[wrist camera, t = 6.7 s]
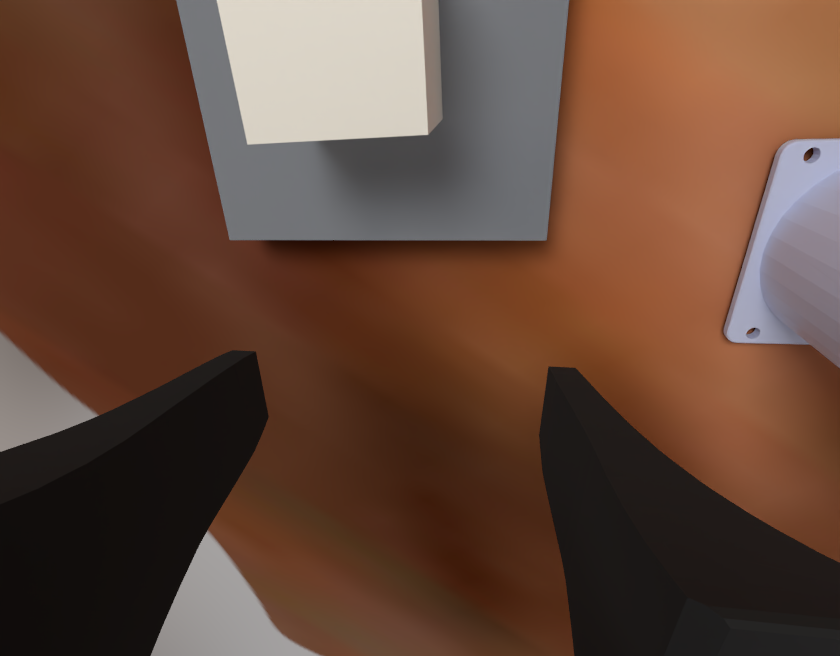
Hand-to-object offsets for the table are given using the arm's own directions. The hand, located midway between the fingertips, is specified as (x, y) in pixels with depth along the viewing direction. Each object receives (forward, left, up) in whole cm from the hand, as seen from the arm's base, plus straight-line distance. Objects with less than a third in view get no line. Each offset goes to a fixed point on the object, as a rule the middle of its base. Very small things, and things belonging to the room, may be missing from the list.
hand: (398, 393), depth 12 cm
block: (+2, -8, -8) cm, 11 cm away
